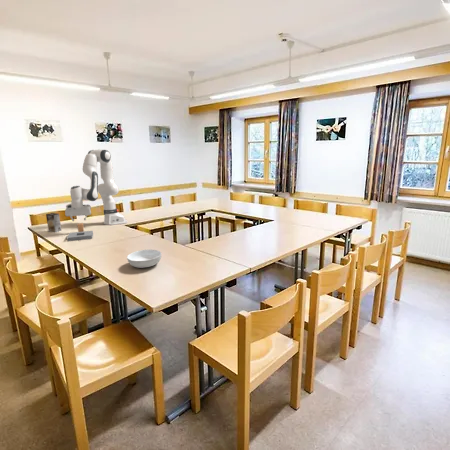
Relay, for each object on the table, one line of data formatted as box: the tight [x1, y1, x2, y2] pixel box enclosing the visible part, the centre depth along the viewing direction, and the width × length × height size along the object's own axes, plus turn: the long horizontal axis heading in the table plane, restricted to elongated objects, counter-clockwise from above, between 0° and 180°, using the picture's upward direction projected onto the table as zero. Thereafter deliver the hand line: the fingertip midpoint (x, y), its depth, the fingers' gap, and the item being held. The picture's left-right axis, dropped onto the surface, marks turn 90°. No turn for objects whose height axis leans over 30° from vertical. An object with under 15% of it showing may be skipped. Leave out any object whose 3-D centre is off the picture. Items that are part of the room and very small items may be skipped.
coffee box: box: [45, 212, 62, 233], centre depth 268 cm, size 9×6×16 cm
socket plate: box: [66, 230, 94, 242], centre depth 249 cm, size 18×16×3 cm
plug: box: [77, 222, 85, 232], centre depth 263 cm, size 4×5×8 cm
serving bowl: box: [126, 248, 162, 269], centre depth 187 cm, size 21×21×7 cm
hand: (79, 220), depth 261 cm, fingers open, 8 cm apart
